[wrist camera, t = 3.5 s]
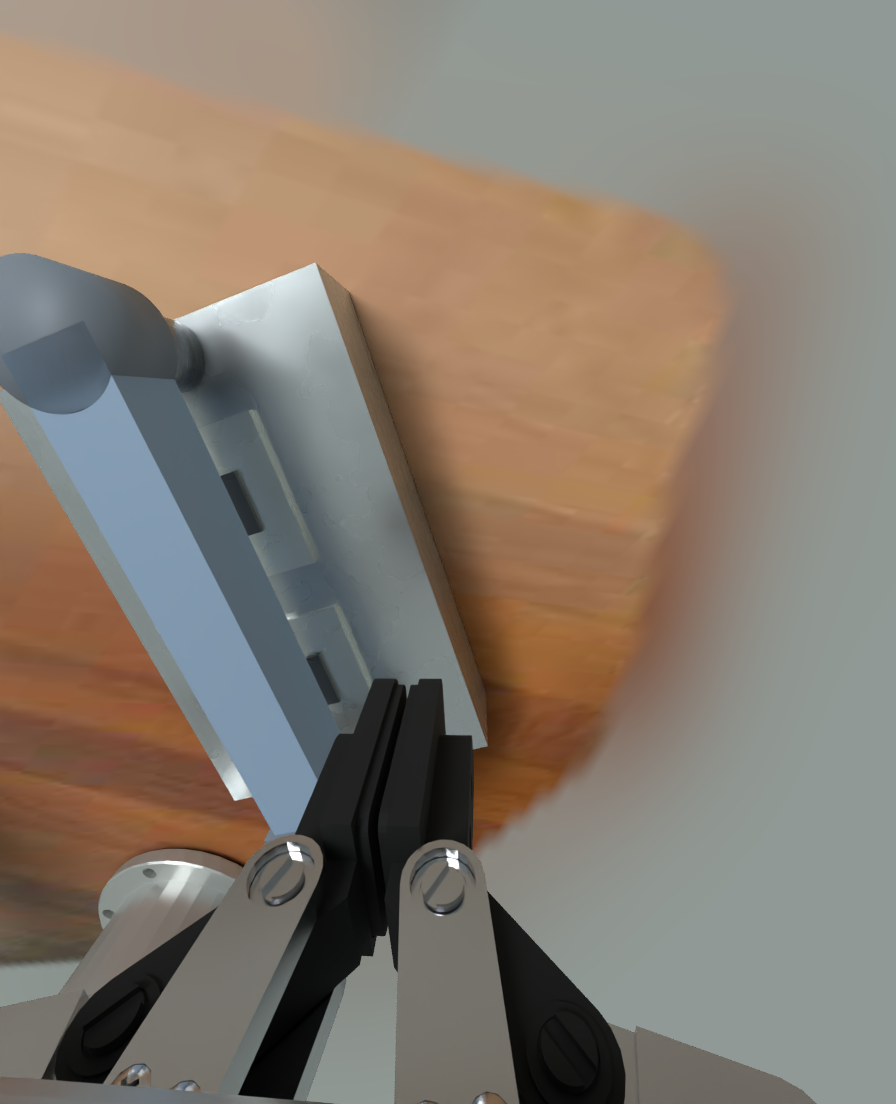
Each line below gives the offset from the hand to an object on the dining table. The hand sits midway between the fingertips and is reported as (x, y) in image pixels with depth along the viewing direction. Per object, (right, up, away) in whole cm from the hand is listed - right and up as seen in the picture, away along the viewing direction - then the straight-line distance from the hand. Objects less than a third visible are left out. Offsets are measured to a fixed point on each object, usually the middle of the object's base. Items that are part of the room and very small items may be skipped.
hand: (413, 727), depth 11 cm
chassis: (-6, +4, +11) cm, 13 cm away
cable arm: (-6, +3, +5) cm, 8 cm away
